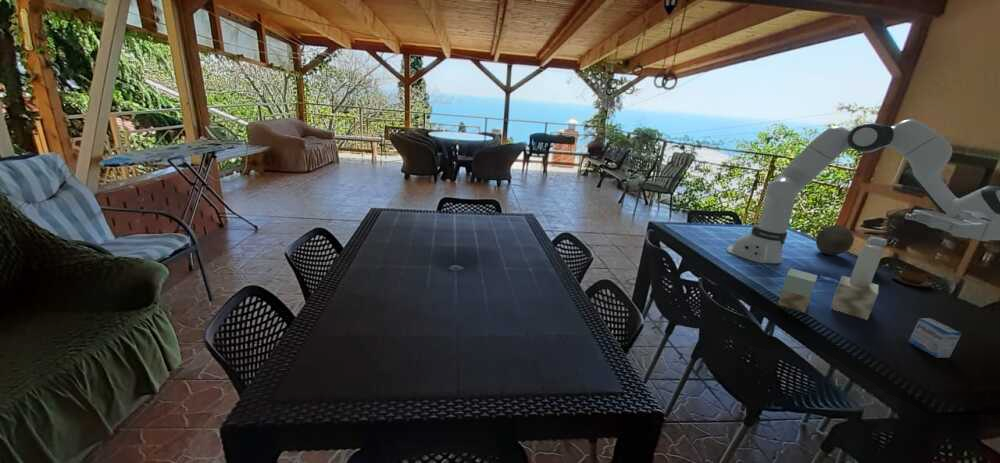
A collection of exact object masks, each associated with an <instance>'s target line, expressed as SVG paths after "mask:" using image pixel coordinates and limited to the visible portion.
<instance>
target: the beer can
mask: <svg viewBox="0 0 1000 463" xmlns="http://www.w3.org/2000/svg"><path fill="white" fill-rule="evenodd" d="M866 244H870V245H875V246H879V247H882V248H884V250H885V249H886V246H887V244H888V240H887V239H886V238H883V237H881V236H880V237H879V236H874V235H872V236H870V237H869V238H868V239H867V242H866ZM880 261H881V260H880ZM880 261H879V263H880ZM878 266H879V265H878ZM878 266H877V268H878Z"/></svg>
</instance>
